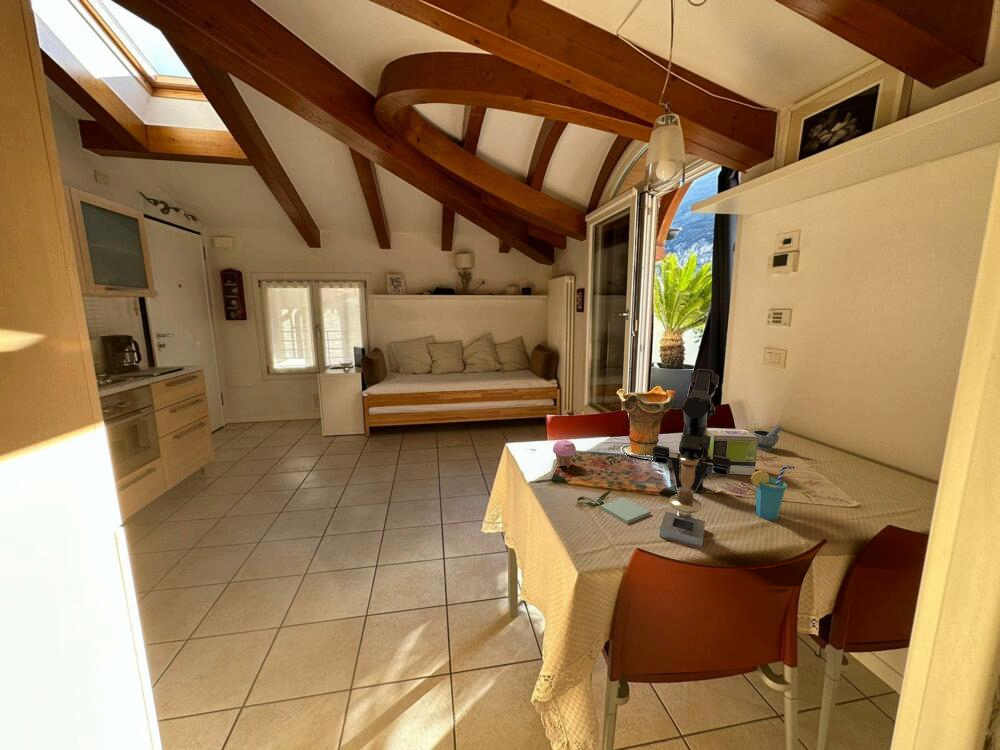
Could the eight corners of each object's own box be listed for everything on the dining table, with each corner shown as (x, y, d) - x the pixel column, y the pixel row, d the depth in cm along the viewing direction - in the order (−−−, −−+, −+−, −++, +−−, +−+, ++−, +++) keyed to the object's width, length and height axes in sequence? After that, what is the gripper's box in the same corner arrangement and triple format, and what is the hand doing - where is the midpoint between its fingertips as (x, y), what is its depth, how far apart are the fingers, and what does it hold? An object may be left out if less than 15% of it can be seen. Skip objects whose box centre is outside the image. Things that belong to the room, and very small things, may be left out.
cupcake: (575, 471, 148) (576, 445, 146) (551, 469, 149) (552, 443, 148) (575, 461, 157) (576, 437, 155) (552, 460, 158) (553, 435, 156)
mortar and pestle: (745, 447, 175) (748, 420, 173) (758, 443, 179) (761, 417, 177) (772, 455, 165) (776, 427, 163) (785, 451, 170) (789, 424, 168)
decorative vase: (602, 446, 172) (609, 382, 168) (645, 443, 181) (653, 382, 176) (634, 464, 153) (643, 393, 149) (681, 460, 162) (690, 392, 157)
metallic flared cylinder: (663, 507, 110) (668, 452, 107) (691, 507, 110) (697, 453, 107) (675, 522, 103) (680, 464, 100) (705, 522, 103) (711, 464, 100)
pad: (623, 501, 125) (623, 497, 125) (650, 515, 117) (650, 511, 116) (600, 510, 120) (600, 505, 120) (626, 525, 111) (627, 520, 111)
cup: (774, 506, 123) (781, 459, 121) (800, 518, 116) (807, 469, 113) (738, 512, 119) (744, 464, 117) (762, 525, 112) (769, 475, 110)
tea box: (742, 465, 155) (746, 428, 152) (754, 476, 145) (759, 437, 142) (700, 463, 157) (704, 426, 154) (710, 473, 147) (714, 434, 144)
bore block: (664, 521, 114) (665, 511, 113) (704, 531, 109) (705, 520, 109) (659, 538, 105) (660, 527, 105) (701, 550, 101) (702, 539, 100)
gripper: (656, 416, 110) (645, 469, 103) (734, 427, 101) (729, 485, 93) (658, 436, 118) (649, 486, 111) (731, 448, 109) (726, 503, 102)
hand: (686, 489), depth 104 cm, fingers closed on metallic flared cylinder, 4 cm apart
